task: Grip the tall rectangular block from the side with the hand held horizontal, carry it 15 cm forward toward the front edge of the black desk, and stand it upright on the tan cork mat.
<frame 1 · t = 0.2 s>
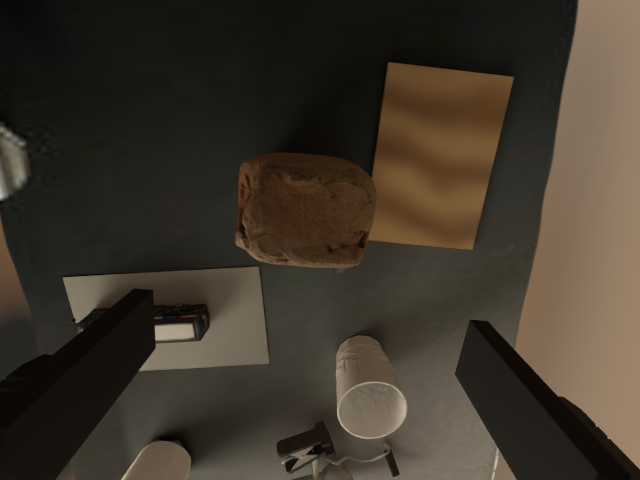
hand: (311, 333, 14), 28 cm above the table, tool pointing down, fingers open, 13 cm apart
block: (303, 184, 40), on the table
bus: (171, 321, 44), on the table
white cup: (359, 354, 46), on the table
cup: (168, 454, 51), on the table
clip-on lamp: (338, 448, 51), on the table
cork mat: (432, 163, 39), on the table
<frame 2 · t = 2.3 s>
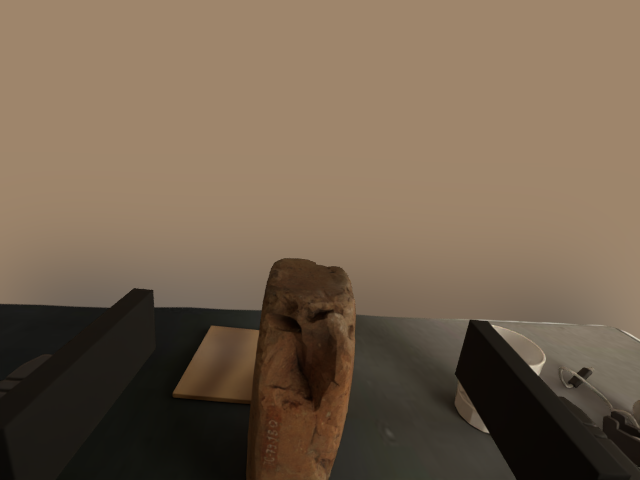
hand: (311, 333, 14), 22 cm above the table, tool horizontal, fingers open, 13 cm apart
block: (289, 478, 30), on the table
white cup: (482, 413, 41), on the table
clip-on lamp: (622, 432, 40), on the table
cork mat: (269, 365, 44), on the table
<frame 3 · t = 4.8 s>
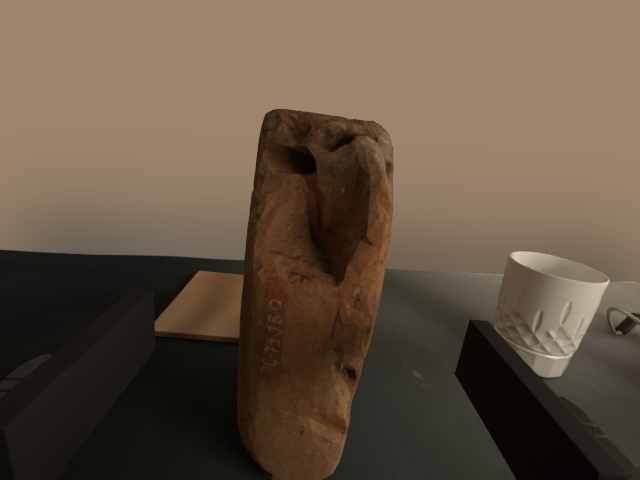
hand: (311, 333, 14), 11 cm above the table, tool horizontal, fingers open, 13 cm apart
block: (294, 420, 23), on the table
white cup: (524, 357, 34), on the table
cork mat: (267, 307, 37), on the table
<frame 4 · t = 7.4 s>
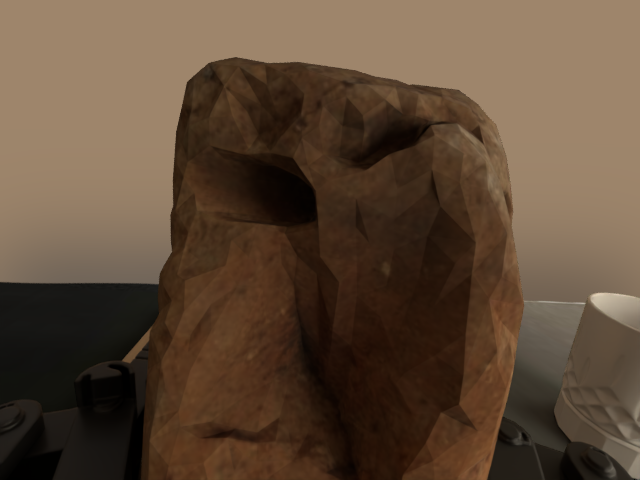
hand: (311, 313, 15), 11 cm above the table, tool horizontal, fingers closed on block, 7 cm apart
white cup: (606, 440, 24), on the table
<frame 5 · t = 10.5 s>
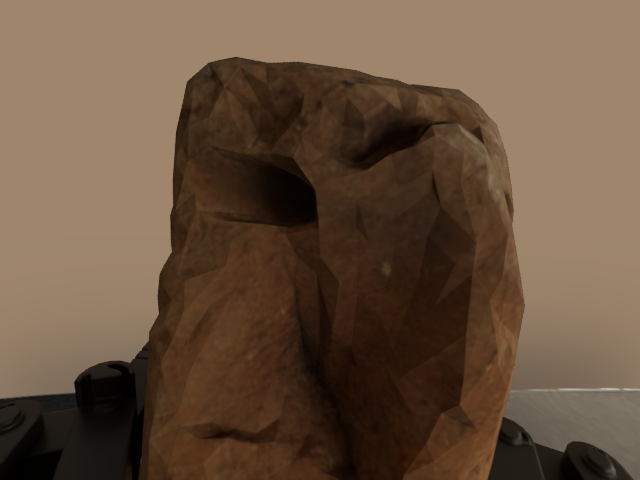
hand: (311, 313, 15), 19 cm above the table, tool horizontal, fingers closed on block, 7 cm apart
when the fingers open (12 cm above the table, at t = 13.9 s): block stays where it is, resting on cork mat.
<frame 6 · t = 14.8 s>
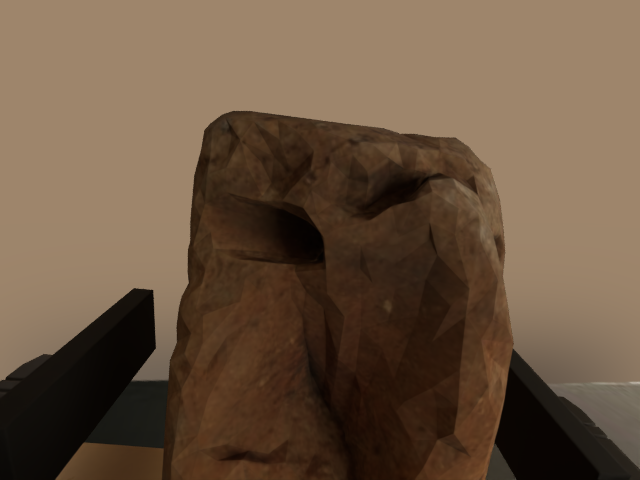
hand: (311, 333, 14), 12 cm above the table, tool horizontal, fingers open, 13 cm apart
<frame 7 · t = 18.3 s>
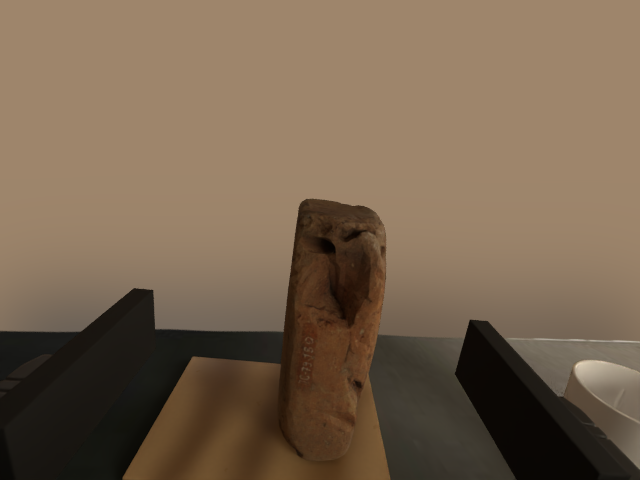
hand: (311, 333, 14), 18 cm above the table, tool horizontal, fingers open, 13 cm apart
block: (315, 417, 31), resting on cork mat
cork mat: (272, 417, 31), on the table
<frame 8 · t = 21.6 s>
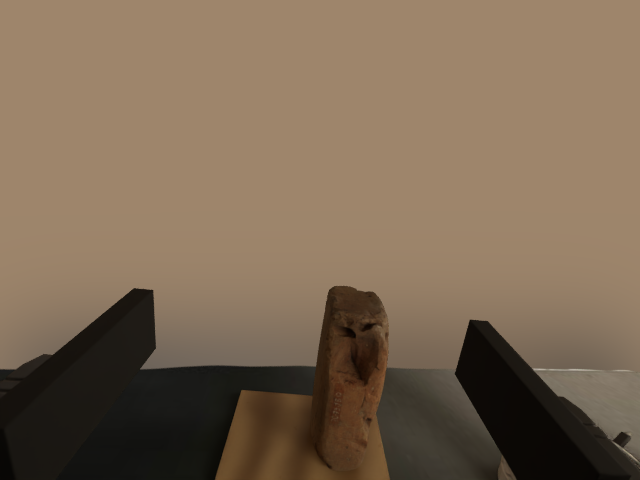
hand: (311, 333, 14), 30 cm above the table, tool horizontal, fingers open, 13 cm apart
block: (336, 438, 43), resting on cork mat
cork mat: (306, 438, 43), on the table
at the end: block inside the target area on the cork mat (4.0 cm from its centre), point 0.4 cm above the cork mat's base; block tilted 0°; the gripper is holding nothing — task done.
